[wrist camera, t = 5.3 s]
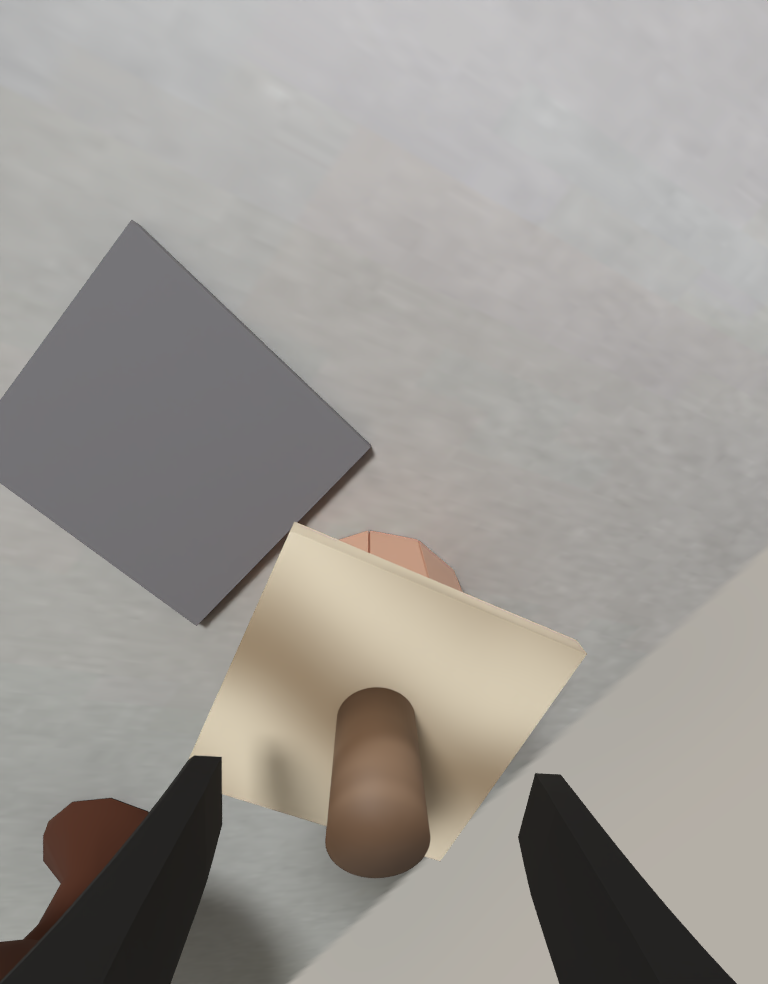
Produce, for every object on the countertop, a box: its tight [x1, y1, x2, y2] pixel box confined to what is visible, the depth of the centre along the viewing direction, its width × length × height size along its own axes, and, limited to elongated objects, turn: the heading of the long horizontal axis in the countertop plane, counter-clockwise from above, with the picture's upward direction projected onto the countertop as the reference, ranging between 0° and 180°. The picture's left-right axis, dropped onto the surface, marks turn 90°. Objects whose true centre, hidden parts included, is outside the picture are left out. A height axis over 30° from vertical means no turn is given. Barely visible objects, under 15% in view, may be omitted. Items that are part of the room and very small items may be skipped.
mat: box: [0, 220, 371, 626], centre depth 15 cm, size 10×10×1 cm
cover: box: [189, 522, 587, 878], centre depth 11 cm, size 9×9×4 cm
